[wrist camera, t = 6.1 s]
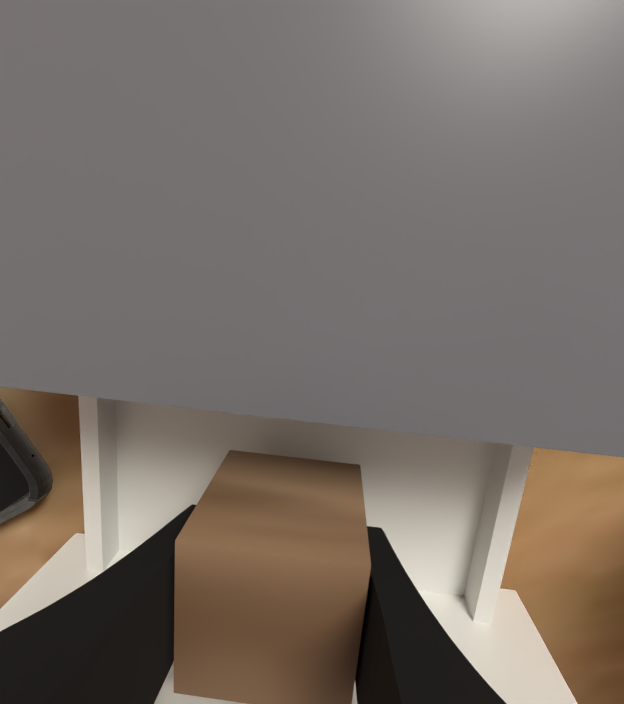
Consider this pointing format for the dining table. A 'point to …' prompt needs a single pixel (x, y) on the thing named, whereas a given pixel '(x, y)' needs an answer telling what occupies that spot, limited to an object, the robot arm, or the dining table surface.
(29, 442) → the phone
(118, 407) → the tray
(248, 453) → the walnut block
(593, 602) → the dining table surface
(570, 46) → the box housing
